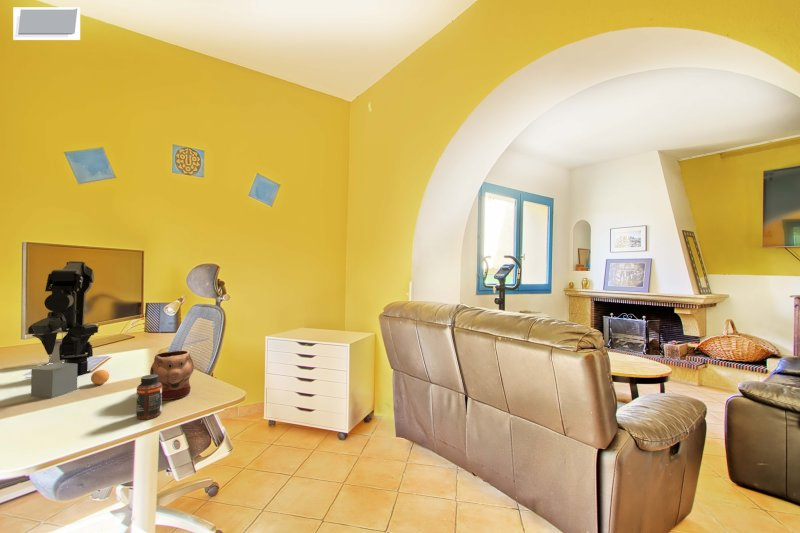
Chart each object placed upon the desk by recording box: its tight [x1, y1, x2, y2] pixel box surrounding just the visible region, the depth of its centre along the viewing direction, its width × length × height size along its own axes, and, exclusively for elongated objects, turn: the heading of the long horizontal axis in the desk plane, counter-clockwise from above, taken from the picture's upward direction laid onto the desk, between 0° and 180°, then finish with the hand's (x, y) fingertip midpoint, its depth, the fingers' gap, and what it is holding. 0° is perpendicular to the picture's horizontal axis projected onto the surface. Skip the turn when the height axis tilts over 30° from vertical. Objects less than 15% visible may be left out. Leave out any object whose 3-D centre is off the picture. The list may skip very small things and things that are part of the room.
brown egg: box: [90, 369, 110, 385], centre depth 126 cm, size 5×5×5 cm
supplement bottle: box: [135, 374, 163, 420], centre depth 102 cm, size 6×6×11 cm
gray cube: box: [30, 362, 78, 399], centre depth 117 cm, size 8×8×9 cm
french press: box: [46, 328, 68, 364], centre depth 150 cm, size 10×12×25 cm
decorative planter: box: [149, 350, 195, 400], centre depth 119 cm, size 20×12×14 cm, turn 44°
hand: (63, 355), depth 118 cm, fingers open, 9 cm apart
